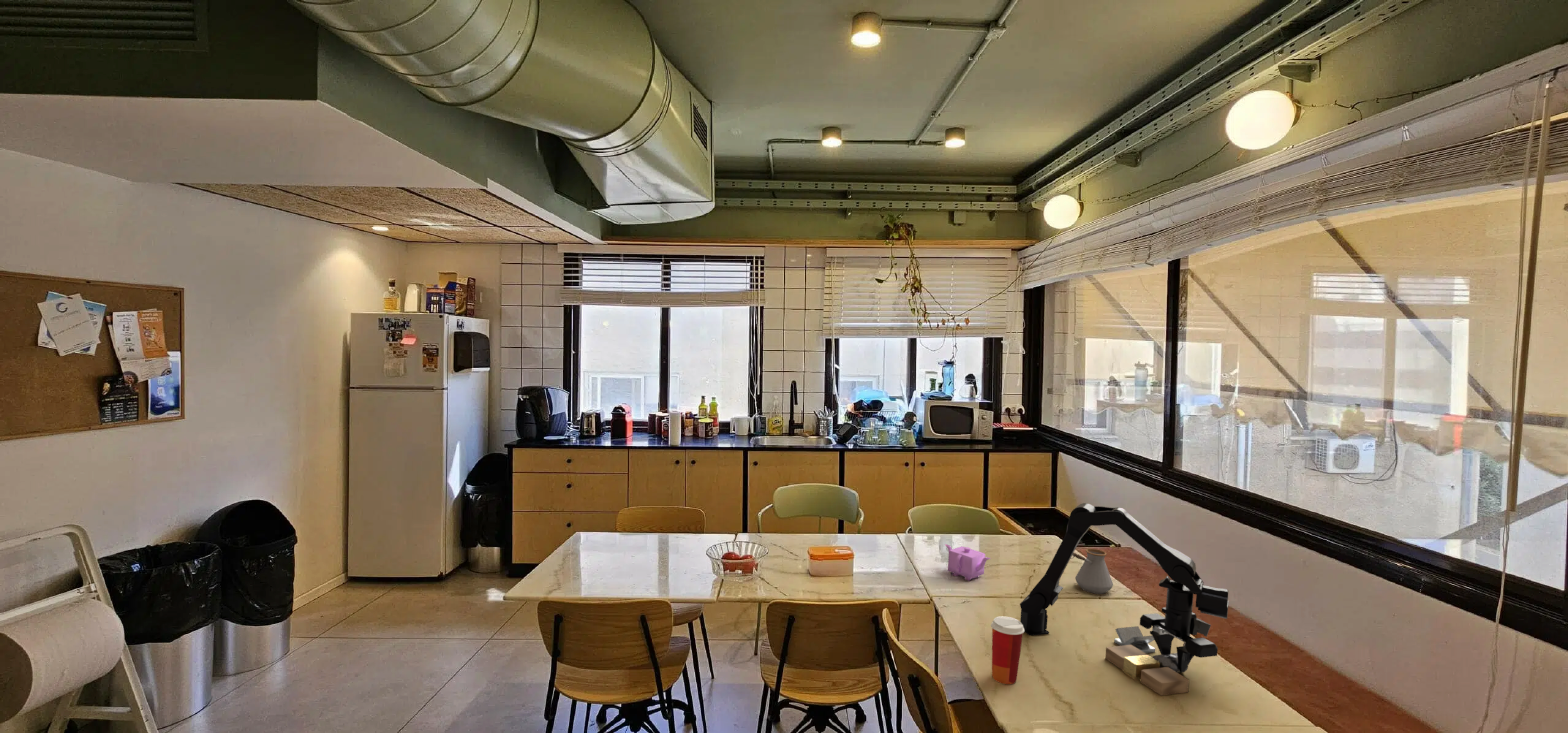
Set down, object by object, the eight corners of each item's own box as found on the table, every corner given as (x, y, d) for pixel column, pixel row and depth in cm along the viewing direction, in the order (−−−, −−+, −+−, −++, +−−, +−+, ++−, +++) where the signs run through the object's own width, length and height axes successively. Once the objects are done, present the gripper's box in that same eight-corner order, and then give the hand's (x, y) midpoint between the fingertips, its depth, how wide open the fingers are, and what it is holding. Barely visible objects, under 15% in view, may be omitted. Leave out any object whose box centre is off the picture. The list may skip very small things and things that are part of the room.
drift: (1135, 680, 165) (1136, 665, 165) (1123, 672, 169) (1124, 657, 169) (1158, 678, 167) (1159, 662, 167) (1146, 670, 171) (1147, 654, 171)
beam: (1160, 695, 158) (1161, 683, 158) (1105, 658, 176) (1106, 647, 176) (1188, 692, 161) (1189, 679, 160) (1130, 655, 178) (1131, 644, 178)
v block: (1133, 654, 179) (1134, 638, 179) (1114, 642, 186) (1115, 627, 185) (1155, 652, 181) (1156, 636, 180) (1135, 640, 187) (1136, 625, 187)
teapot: (1000, 579, 230) (1002, 551, 229) (979, 588, 221) (981, 558, 220) (954, 563, 243) (956, 537, 243) (933, 571, 234) (935, 544, 234)
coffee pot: (1086, 580, 232) (1089, 538, 231) (1119, 592, 223) (1122, 547, 222) (1050, 592, 220) (1053, 547, 219) (1083, 605, 211) (1087, 558, 210)
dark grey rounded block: (1164, 677, 167) (1166, 660, 167) (1150, 668, 171) (1152, 652, 171) (1187, 675, 169) (1188, 658, 169) (1172, 666, 173) (1174, 649, 173)
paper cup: (1013, 670, 167) (1017, 615, 166) (1025, 687, 159) (1030, 629, 158) (982, 669, 167) (986, 614, 166) (993, 686, 159) (997, 628, 158)
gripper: (1237, 620, 163) (1232, 683, 164) (1174, 590, 181) (1169, 647, 182) (1201, 624, 160) (1196, 687, 161) (1140, 593, 178) (1135, 651, 179)
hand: (1174, 667), depth 170 cm, fingers closed on dark grey rounded block, 4 cm apart
